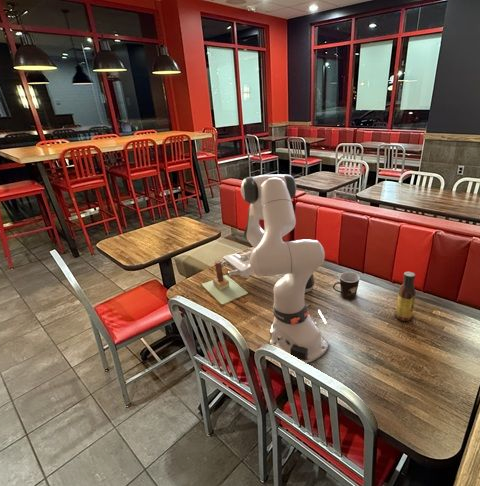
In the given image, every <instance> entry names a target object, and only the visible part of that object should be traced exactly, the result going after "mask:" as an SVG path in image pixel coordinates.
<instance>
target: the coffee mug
mask: <svg viewBox="0 0 480 486" xmlns="http://www.w3.org/2000/svg"><path fill="white" fill-rule="evenodd" d="M360 278H361V277H360V275H359V274H357V273H356V272H352V271H345V272H342V273H340V274H339V281H337V282H334V284H333V286H332V288H333V289H334V291H335V292H338V293H340V297H341V298H342V299H344V300H345V301H353V300H356V298H357V293H358V288H359V283H360V280H361V279H360ZM336 285H340V290H338V289H336V288H335V287H336Z"/></svg>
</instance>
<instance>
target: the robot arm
mask: <svg viewBox="0 0 480 486" xmlns="http://www.w3.org/2000/svg"><path fill="white" fill-rule="evenodd" d="M296 193H297V183H296V180H295V178H294V177H293V176H292V175H291V174H285V173H283V174H262V175H256V176H248V177H245V178H244V179H243V180H241V185H240V194H241V195H240V196H241V197H242V199H243V201H244V202H245V203H247V204H250V205H249V206H248V211H247V217H246V218H247V220H246V224H245V225H246V226H245V229H244V232H243V237H244V239H245V240H246V241H247V242H248V243H249V244H250V245H251V246H252V247H253V249H252V250H249V251H246V252H243V253H241V254H237V253H229V254H226V255H224V256H223V257H222V261H221V266H222V269H223V268H224V267H225V266H227V267H228V268H230V269H231V270H228V271H227V276H228V277H230V276H237V275H239V276H240V277H241V278H246V277H249V276H252V275H254V274H255V275H256V276H258V277H270V278H271V277H278V276H282V277H280V278H279V279H278V280H277V281H276V283H275V284H274V286H273V305H272V311H273V321H272V325H271V328H270V333H271V339H269V340H270V341H269V345H270V344H271V345H275V346H277V347H279V348H281V349H283V350H285V351H286V352H288V353H290V354H291V355H293V356H295V357H297V358H298V359H300V360H302V361H304V362H306V363H305V364H308V363H311V362H314V361H315V360H318V359H319V358H320V357H321V356H323V355H324V354H325V353H326V352H327V350H328V348H329V344H328V342H327V341H326V340H325V339H324V338H323V337H322V334H321V331H320V330H319V323H318V322H317V321H313V319H312V318H311V315H310V310H309V311H308V308H307V307H308V306H307V305H306V302H305V296H306V295H305V294H306V293H305V287H306V284H307V282H308V280H309V278H310V277H311V275H312V274H313V275H314V273H315V272H316V271H317V270H318V269H320V268H321V267H322V266H323V264H324V262H325V260H326V252H325V248H324V246H323V244H321V242H320V241H319V240H317V239H305V238H303V239H296V240H290V241H284V240H283V237H284V236H286V235H288V234H289V233H290V232H291V231H293V230H294V228H295V227H296V224H297V219H296V215H295V214H296V213H295V210H294V205H293V199H294V198H295V196H296ZM260 220H261V221H263V224H264V226H263V227H264V228H262V226H261V224H260ZM318 314H319V315H320V317H321V319H322V322H324V324H327V321H326V318H325V317H324V315H323V314H322V312H321V310H320V309H318Z"/></svg>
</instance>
